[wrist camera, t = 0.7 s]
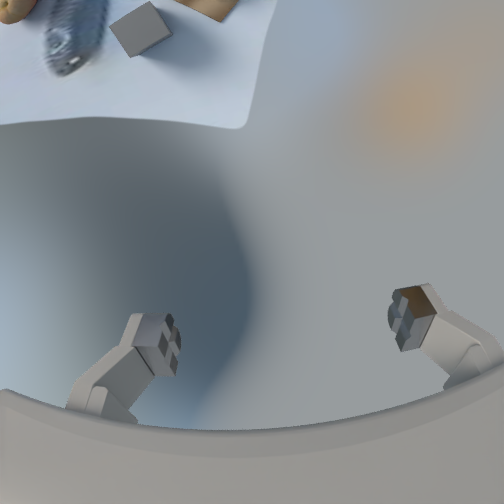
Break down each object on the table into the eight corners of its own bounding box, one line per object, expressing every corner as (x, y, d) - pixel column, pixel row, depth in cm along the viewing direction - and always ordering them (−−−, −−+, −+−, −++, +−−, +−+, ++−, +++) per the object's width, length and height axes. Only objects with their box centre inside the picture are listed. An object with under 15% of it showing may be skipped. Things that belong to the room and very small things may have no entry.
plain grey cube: (138, 55, 34) (130, 57, 29) (120, 28, 30) (108, 26, 24) (172, 34, 33) (170, 33, 28) (155, 7, 29) (149, 1, 23)
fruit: (7, 4, 15) (-15, 5, 10) (40, -23, 15) (19, -28, 9) (17, 30, 21) (-6, 33, 15) (49, 3, 20) (29, 1, 15)
